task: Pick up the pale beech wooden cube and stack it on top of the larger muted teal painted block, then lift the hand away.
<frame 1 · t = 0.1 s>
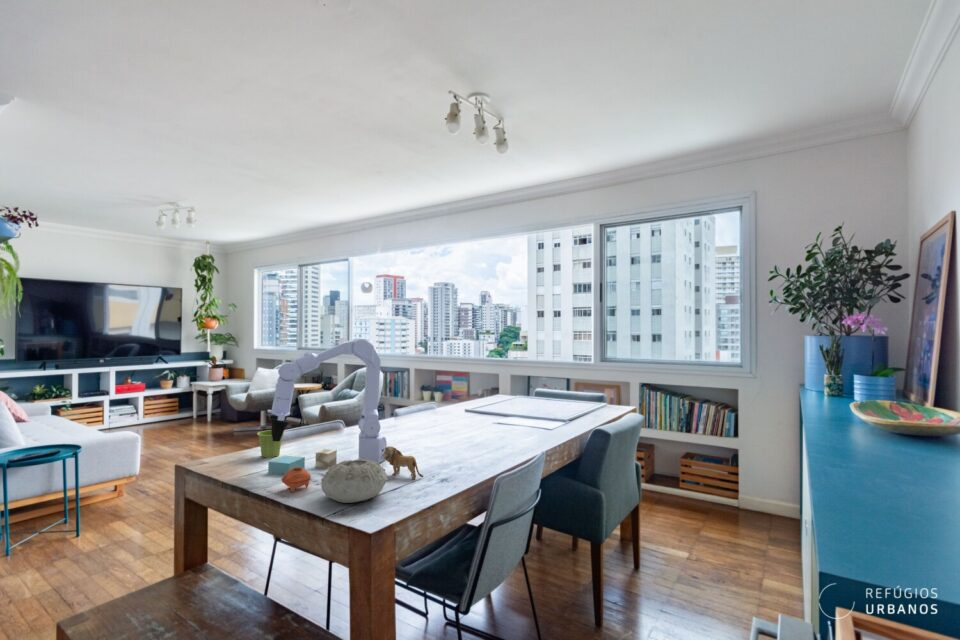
hand: (275, 438, 159), 11 cm above the table, tool pointing down, fingers open, 7 cm apart
plant pot: (270, 456, 177), on the table
pot: (296, 489, 140), on the table
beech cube: (326, 465, 165), on the table
lion figurine: (401, 476, 154), on the table
teal base block: (286, 471, 159), on the table
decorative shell: (354, 498, 134), on the table
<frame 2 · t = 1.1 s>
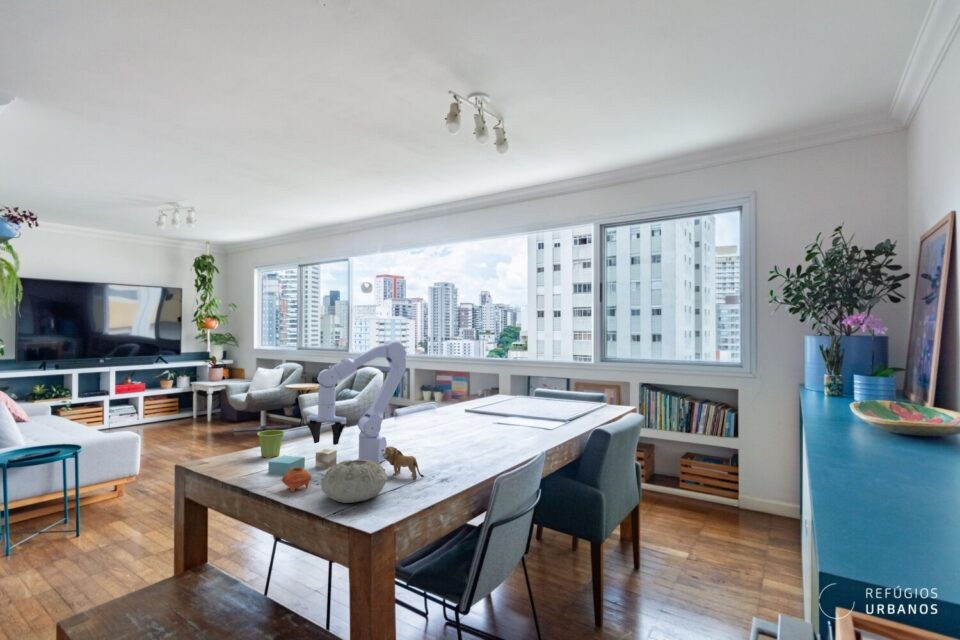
hand: (326, 443, 165), 8 cm above the table, tool pointing down, fingers open, 7 cm apart
nothing on the table moved.
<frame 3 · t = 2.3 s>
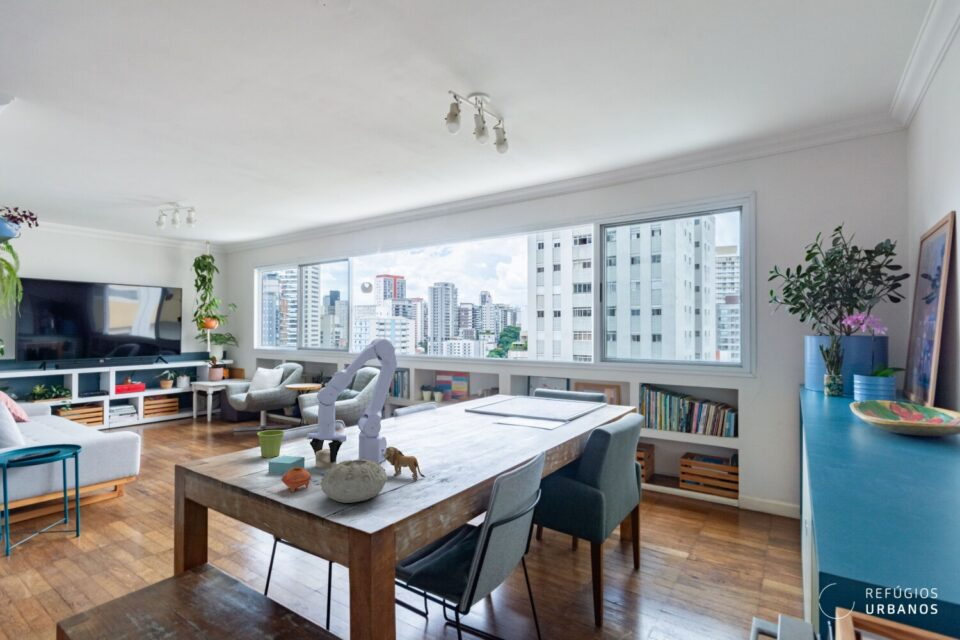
hand: (326, 461, 165), 1 cm above the table, tool pointing down, fingers closed on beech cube, 5 cm apart
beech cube: (326, 465, 165), on the table, touching gripper
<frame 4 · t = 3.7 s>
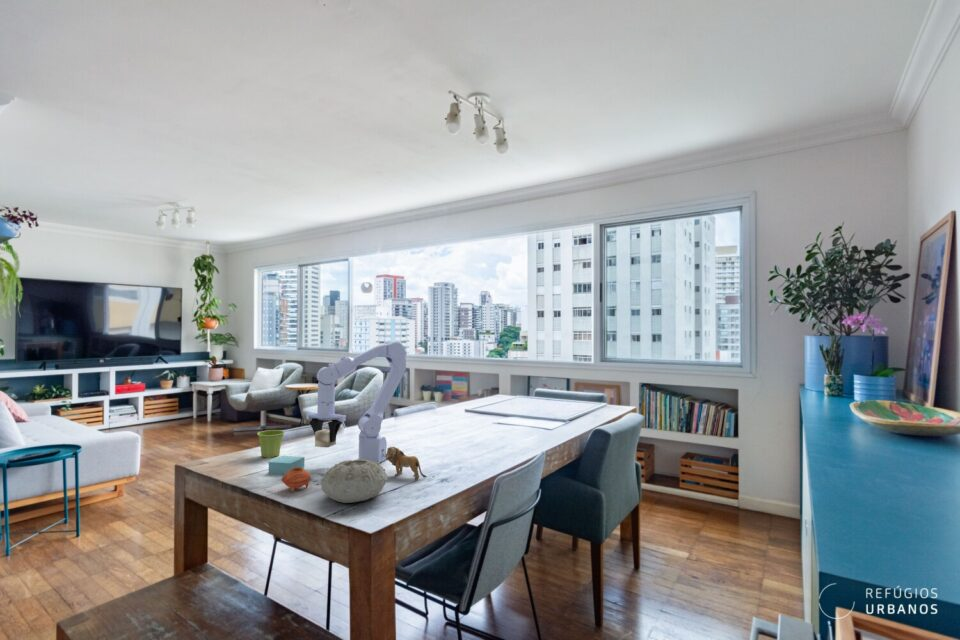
hand: (325, 441, 165), 8 cm above the table, tool pointing down, fingers closed on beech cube, 5 cm apart
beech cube: (325, 445, 165), point 7 cm above the table, touching gripper
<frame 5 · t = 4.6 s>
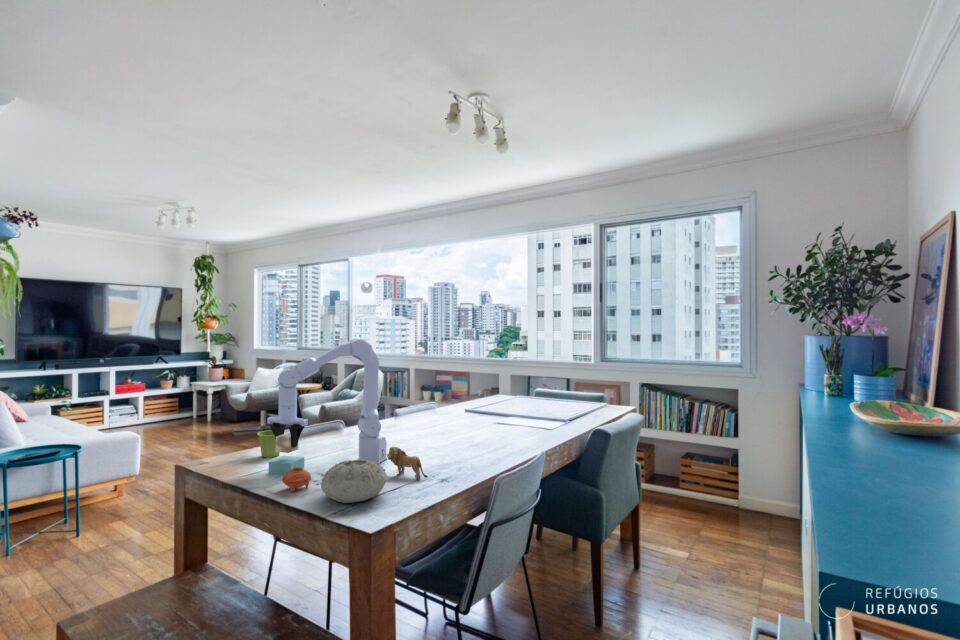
hand: (287, 446, 159), 8 cm above the table, tool pointing down, fingers closed on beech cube, 5 cm apart
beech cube: (287, 450, 159), point 7 cm above the table, touching gripper
when the fingers open (7 cm above the table, at t = 5.3 s): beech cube drops 2 cm, resting on teal base block.
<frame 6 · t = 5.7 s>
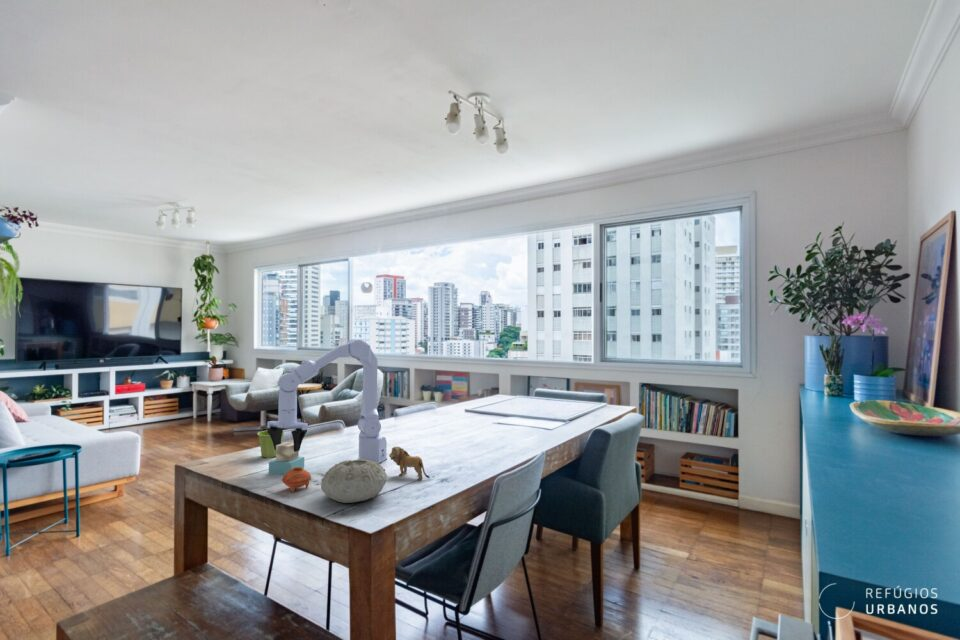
hand: (287, 450, 159), 7 cm above the table, tool pointing down, fingers open, 7 cm apart
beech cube: (287, 459, 159), point 4 cm above the table, touching teal base block
teal base block: (286, 471, 159), on the table, touching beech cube
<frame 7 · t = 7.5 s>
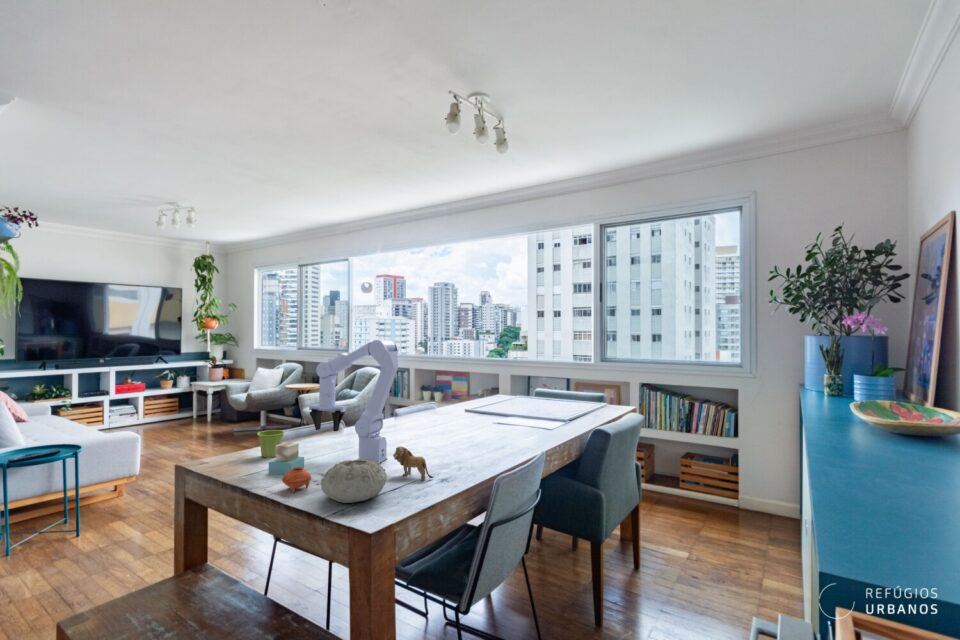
hand: (326, 430, 178), 9 cm above the table, tool pointing down, fingers open, 7 cm apart
lion figurine: (411, 477, 153), on the table
everything else where it was.
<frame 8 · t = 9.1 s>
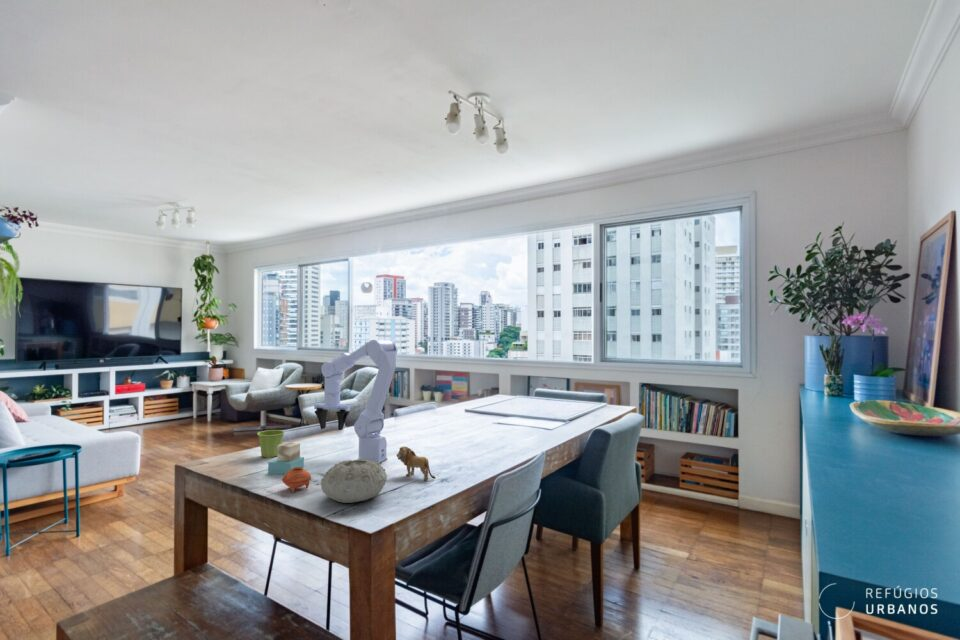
hand: (331, 429, 181), 9 cm above the table, tool pointing down, fingers open, 7 cm apart
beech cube: (288, 459, 159), point 4 cm above the table
lion figurine: (415, 477, 153), on the table
teal base block: (286, 471, 159), on the table
everything else where it was.
at the end: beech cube 0.8 cm off-centre on the teal base block, point 4.0 cm above the teal base block's base; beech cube tilted 0°; the gripper is holding nothing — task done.
